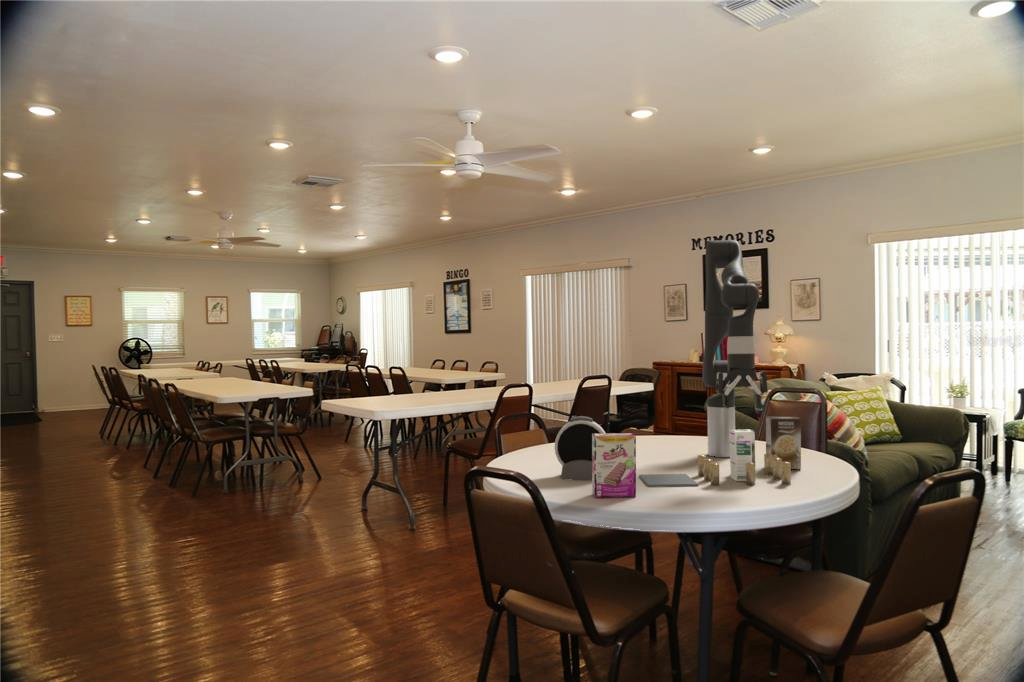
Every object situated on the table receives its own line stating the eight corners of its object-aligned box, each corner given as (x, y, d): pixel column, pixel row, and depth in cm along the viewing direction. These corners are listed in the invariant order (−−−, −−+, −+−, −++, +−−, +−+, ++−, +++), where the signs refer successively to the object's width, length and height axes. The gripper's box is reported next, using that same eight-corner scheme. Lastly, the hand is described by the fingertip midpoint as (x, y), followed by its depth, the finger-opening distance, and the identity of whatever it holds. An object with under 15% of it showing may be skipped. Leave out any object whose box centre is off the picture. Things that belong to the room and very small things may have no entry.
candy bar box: (594, 498, 176) (593, 436, 176) (591, 494, 181) (591, 433, 181) (637, 497, 177) (636, 435, 177) (633, 493, 182) (632, 432, 182)
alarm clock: (554, 480, 200) (553, 418, 200) (557, 473, 210) (556, 414, 210) (609, 480, 198) (608, 418, 198) (609, 473, 208) (608, 414, 208)
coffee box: (771, 470, 209) (770, 418, 209) (765, 466, 216) (764, 416, 215) (801, 470, 208) (801, 418, 208) (795, 466, 215) (794, 416, 215)
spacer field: (697, 474, 204) (696, 455, 204) (771, 473, 204) (770, 453, 204) (712, 486, 189) (711, 464, 189) (792, 484, 189) (791, 463, 189)
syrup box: (735, 481, 194) (734, 431, 194) (730, 477, 200) (729, 428, 199) (755, 481, 193) (755, 431, 193) (749, 477, 199) (748, 428, 199)
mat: (639, 476, 203) (639, 474, 203) (685, 475, 203) (685, 473, 203) (648, 486, 189) (648, 484, 189) (698, 486, 189) (698, 483, 189)
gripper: (760, 351, 200) (761, 406, 200) (712, 352, 200) (713, 407, 200) (770, 352, 193) (771, 408, 193) (720, 352, 193) (721, 409, 193)
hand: (741, 407), depth 196 cm, fingers open, 8 cm apart
